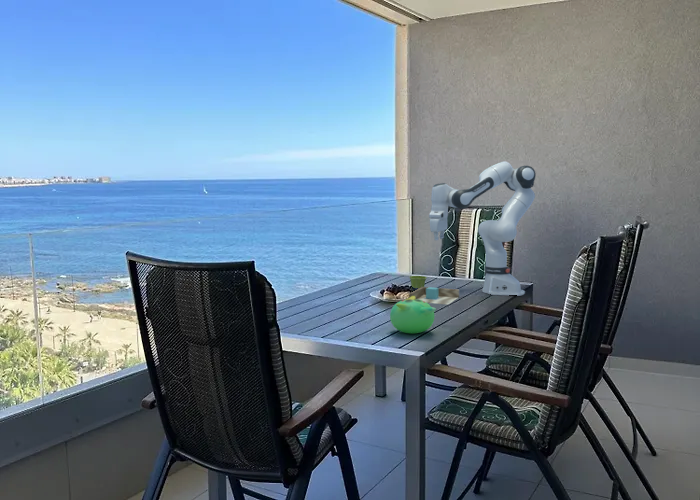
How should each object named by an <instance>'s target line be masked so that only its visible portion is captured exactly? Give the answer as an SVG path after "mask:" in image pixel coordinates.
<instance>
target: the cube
mask: <svg viewBox="0 0 700 500" xmlns="http://www.w3.org/2000/svg"><path fill="white" fill-rule="evenodd" d="M438 288H439V287H433V286H432V287H431V286H429V288H427V289H426V298H427V299H437V298H438Z"/></svg>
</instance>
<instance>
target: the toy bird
mask: <svg viewBox="0 0 700 500" xmlns="http://www.w3.org/2000/svg"><path fill="white" fill-rule="evenodd" d="M436 310H437V308H436V307H432V306H431V305H430V303H427V302H425V301H422V300H419V299H416V298H415V296H411V297H410V298H409V297H408V298H405V299H401V300H400V301H398V302H396V303H395V304H394V305H393V306H392V308H391V310H390V313H389V318H390V323H391V324H392V326H393V327H394V328H395V329H396V330H397V331H399V332H401V333H405V334H420V333H424V332H426V331H427V330H429V329H430V328H431V327H432V325H433V324H434V321H435V317H436V316H435V311H436Z"/></svg>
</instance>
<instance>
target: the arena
mask: <svg viewBox="0 0 700 500" xmlns="http://www.w3.org/2000/svg"><path fill="white" fill-rule="evenodd" d="M429 287H430V286H429ZM429 287H428V286H424V287H421V288H419V289H417V290H415V291H413V292H412V291H411V292H410V293H408V295H409V297H408V298H410V297H411V296H415V298H416V299H419V300H422V301H425V302H427V303H428V304H437V305H446V306H447V305H450V304H451V303H453V302H454V301H455V300H458V299H459V298H460V289H455V288H442V287H441V288H440V287H437V288H438V298H437V299H427V298H426V289H427V288H429Z"/></svg>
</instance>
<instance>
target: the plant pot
mask: <svg viewBox="0 0 700 500" xmlns="http://www.w3.org/2000/svg"><path fill="white" fill-rule="evenodd" d="M409 281H410V286H412V287H414V288H418V289H419V288H421V287H425V284H426V281H427V276H424V275H411V276H410V275H409ZM412 287H411V288H412Z"/></svg>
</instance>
